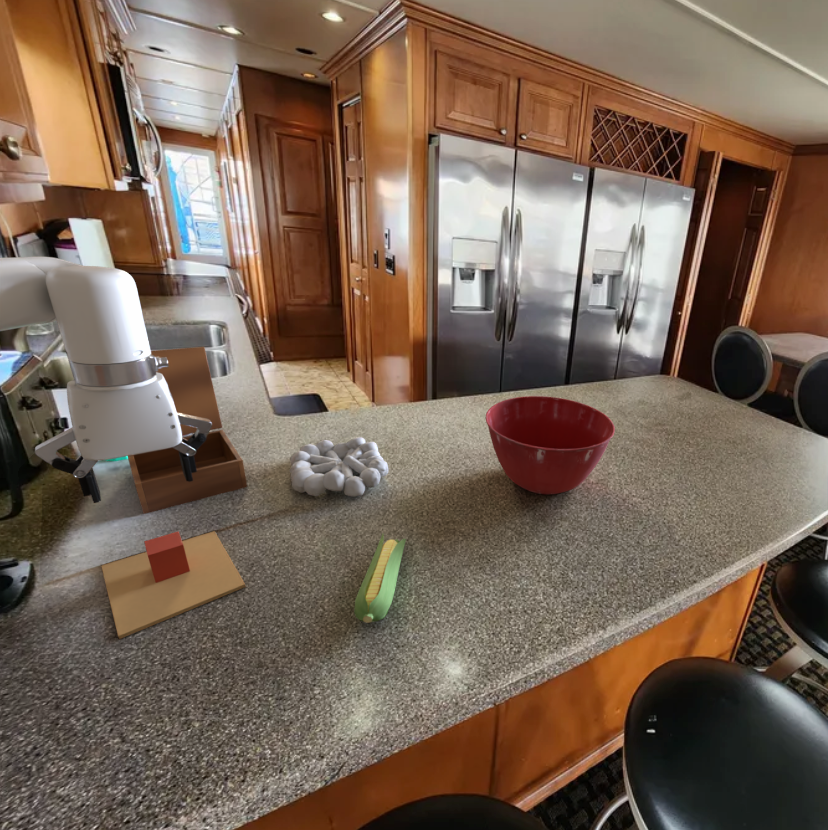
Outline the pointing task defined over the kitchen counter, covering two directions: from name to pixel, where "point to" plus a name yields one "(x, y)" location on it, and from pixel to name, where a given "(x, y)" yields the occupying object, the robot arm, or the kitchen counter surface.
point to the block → (167, 556)
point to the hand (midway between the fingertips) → (144, 487)
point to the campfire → (337, 467)
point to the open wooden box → (166, 481)
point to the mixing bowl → (548, 441)
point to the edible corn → (379, 581)
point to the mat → (168, 585)
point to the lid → (190, 384)
